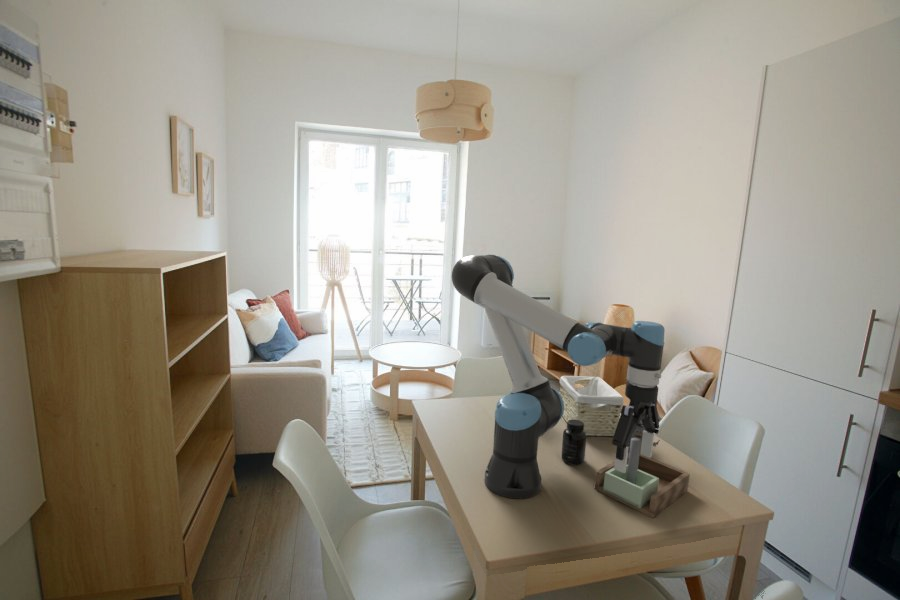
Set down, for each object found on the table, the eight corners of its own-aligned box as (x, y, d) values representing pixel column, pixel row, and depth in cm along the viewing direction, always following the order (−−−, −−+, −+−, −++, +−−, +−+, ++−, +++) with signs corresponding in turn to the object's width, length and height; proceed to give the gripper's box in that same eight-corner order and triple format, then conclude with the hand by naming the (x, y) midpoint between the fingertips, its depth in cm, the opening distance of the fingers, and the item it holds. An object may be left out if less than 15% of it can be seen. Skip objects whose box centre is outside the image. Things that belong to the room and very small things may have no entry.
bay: (653, 518, 111) (655, 498, 111) (594, 488, 123) (596, 471, 122) (687, 491, 124) (689, 473, 124) (631, 467, 136) (633, 451, 136)
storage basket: (555, 410, 179) (558, 374, 177) (596, 412, 179) (600, 375, 177) (574, 437, 155) (578, 395, 153) (621, 439, 156) (626, 397, 154)
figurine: (662, 462, 141) (668, 415, 138) (624, 459, 141) (630, 413, 139) (650, 448, 150) (655, 404, 147) (614, 446, 150) (619, 402, 148)
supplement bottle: (565, 452, 143) (569, 415, 142) (587, 459, 140) (591, 421, 138) (557, 460, 138) (560, 422, 136) (579, 468, 134) (583, 429, 132)
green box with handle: (640, 508, 113) (646, 452, 111) (603, 490, 120) (608, 437, 118) (656, 496, 119) (663, 442, 117) (620, 479, 126) (626, 428, 124)
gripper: (632, 397, 104) (622, 484, 107) (678, 379, 121) (669, 455, 124) (602, 387, 110) (593, 471, 113) (650, 371, 126) (642, 444, 129)
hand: (633, 463), depth 118 cm, fingers open, 13 cm apart
